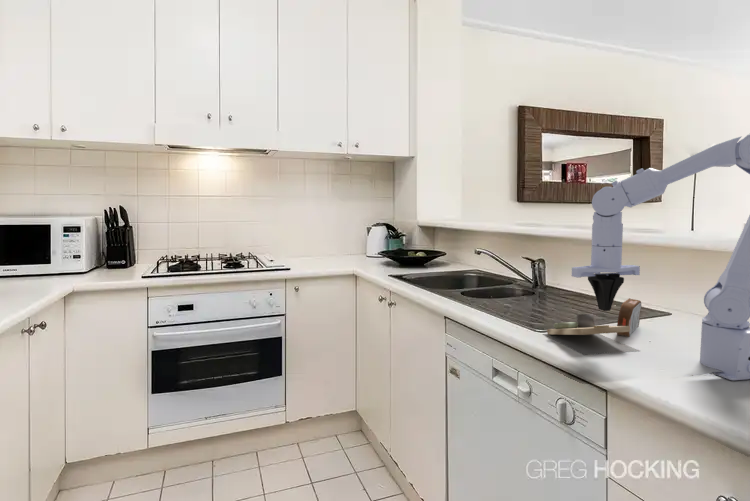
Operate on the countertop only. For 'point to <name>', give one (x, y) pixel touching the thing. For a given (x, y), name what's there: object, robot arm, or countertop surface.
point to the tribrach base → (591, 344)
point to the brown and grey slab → (629, 315)
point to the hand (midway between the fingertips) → (604, 309)
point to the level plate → (585, 327)
